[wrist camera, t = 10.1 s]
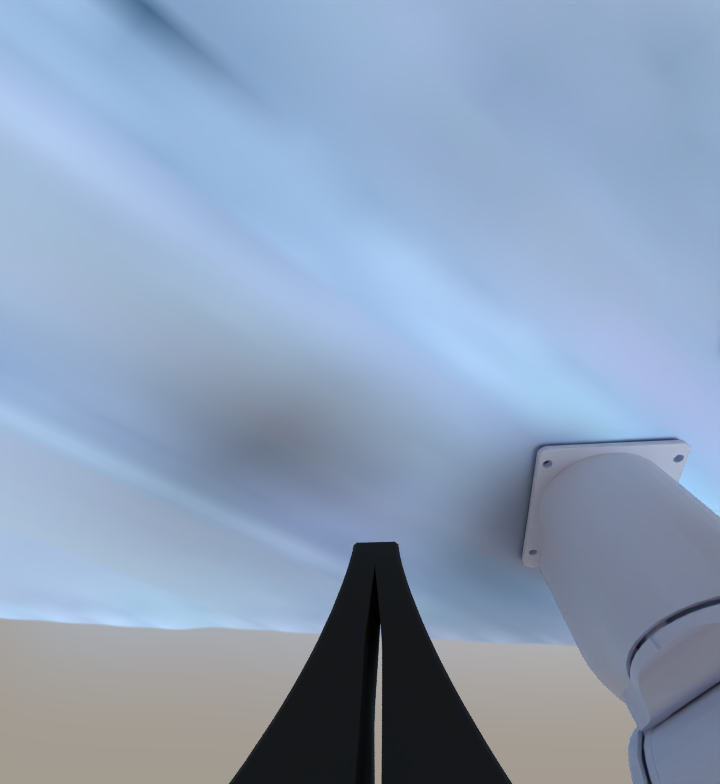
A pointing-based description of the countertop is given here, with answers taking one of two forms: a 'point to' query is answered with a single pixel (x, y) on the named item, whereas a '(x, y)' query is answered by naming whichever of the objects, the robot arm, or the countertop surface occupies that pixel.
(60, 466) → the countertop surface
